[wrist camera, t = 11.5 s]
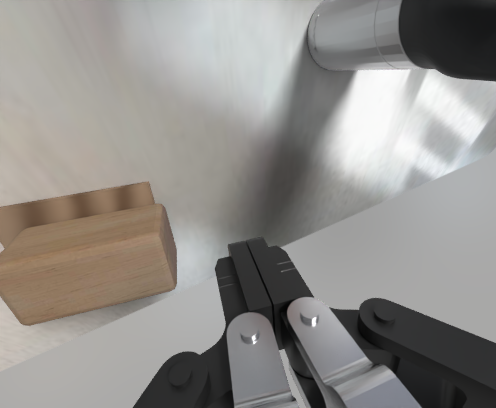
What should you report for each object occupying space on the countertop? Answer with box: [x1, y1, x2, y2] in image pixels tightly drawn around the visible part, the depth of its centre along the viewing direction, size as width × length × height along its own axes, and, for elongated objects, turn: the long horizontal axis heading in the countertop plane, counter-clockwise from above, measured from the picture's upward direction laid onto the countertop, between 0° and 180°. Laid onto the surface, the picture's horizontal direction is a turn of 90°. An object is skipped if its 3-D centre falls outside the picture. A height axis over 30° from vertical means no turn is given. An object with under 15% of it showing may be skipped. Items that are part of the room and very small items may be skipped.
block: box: [0, 204, 177, 326], centre depth 37 cm, size 10×10×20 cm
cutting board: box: [0, 182, 155, 248], centre depth 41 cm, size 22×16×1 cm
